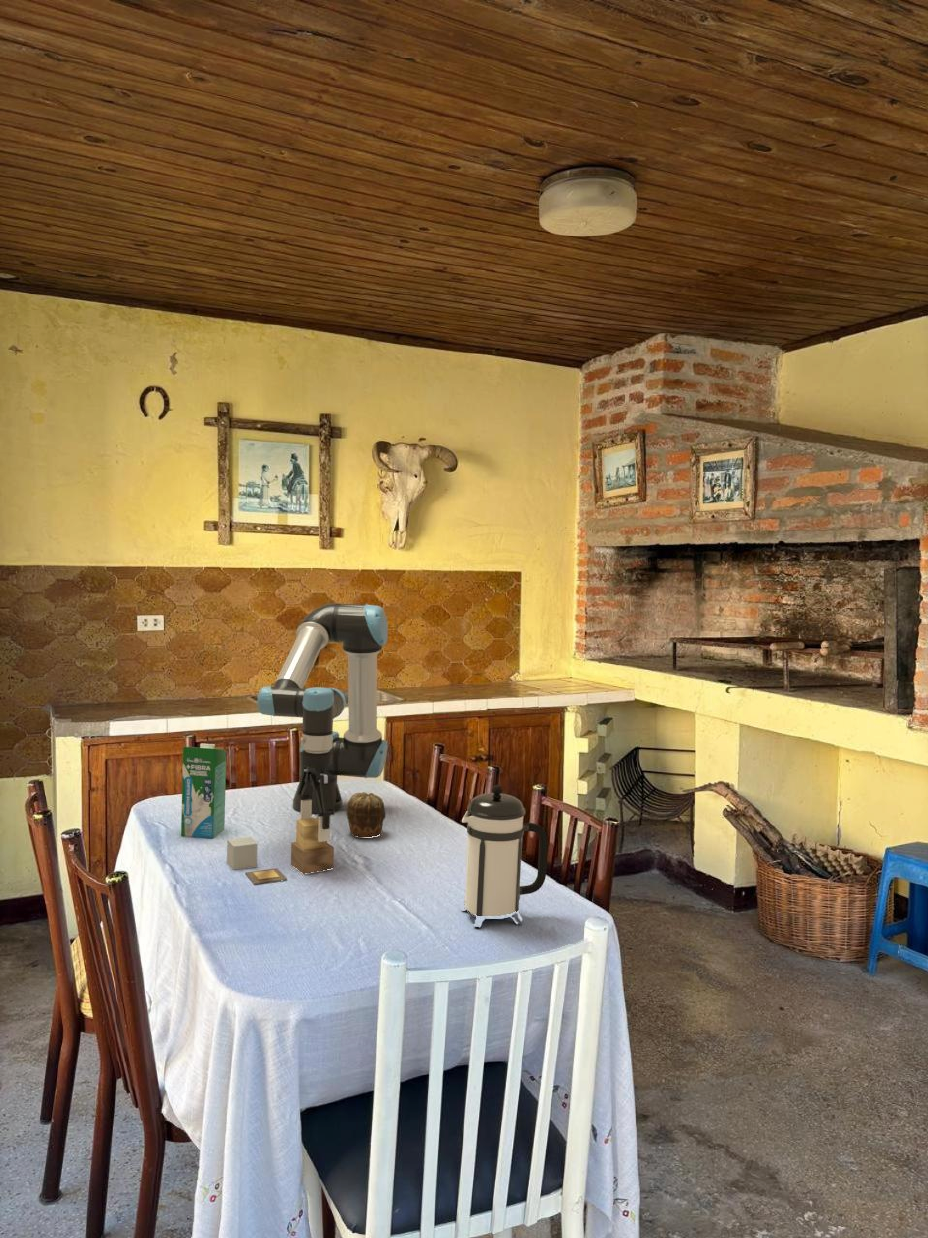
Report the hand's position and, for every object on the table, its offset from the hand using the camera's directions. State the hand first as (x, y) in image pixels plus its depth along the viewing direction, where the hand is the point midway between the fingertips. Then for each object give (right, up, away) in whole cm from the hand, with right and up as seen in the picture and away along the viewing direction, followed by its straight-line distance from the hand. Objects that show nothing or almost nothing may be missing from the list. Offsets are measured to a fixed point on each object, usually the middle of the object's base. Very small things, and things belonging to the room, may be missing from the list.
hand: (314, 832), depth 231 cm
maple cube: (-1, -3, -1) cm, 3 cm away
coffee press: (+45, -13, -26) cm, 54 cm away
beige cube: (-18, -8, 0) cm, 20 cm away
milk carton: (-35, -6, +23) cm, 42 cm away
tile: (-10, -9, -9) cm, 16 cm away
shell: (+10, -7, +28) cm, 30 cm away
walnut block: (-1, -9, 0) cm, 9 cm away
